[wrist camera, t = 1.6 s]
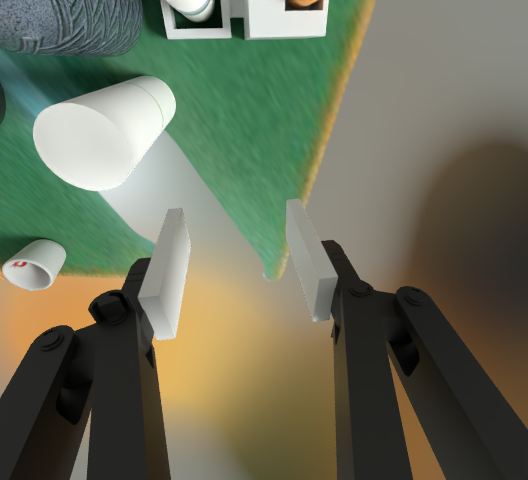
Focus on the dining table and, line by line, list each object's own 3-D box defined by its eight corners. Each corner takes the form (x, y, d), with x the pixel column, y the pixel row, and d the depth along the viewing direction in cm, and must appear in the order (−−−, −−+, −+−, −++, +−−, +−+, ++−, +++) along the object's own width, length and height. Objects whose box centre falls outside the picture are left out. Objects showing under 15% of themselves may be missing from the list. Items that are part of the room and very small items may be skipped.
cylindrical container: (117, 90, 40) (10, 132, 20) (155, 65, 39) (81, 83, 19) (149, 133, 44) (87, 203, 24) (184, 112, 43) (150, 167, 23)
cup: (66, 276, 60) (47, 303, 53) (24, 265, 56) (-2, 292, 50) (75, 242, 55) (55, 268, 48) (30, 228, 52) (2, 253, 45)
